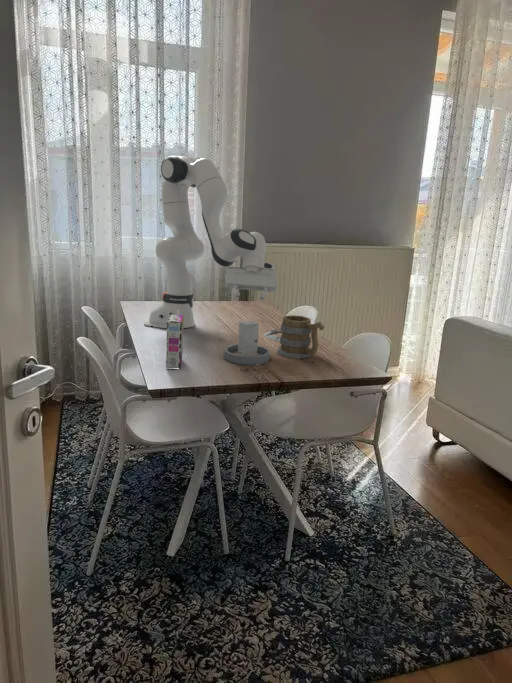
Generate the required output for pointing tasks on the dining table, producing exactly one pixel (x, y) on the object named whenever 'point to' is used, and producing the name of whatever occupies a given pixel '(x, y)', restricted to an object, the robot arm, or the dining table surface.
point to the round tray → (234, 357)
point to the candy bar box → (174, 341)
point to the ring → (273, 337)
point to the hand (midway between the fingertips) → (249, 297)
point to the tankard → (298, 337)
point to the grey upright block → (248, 338)
